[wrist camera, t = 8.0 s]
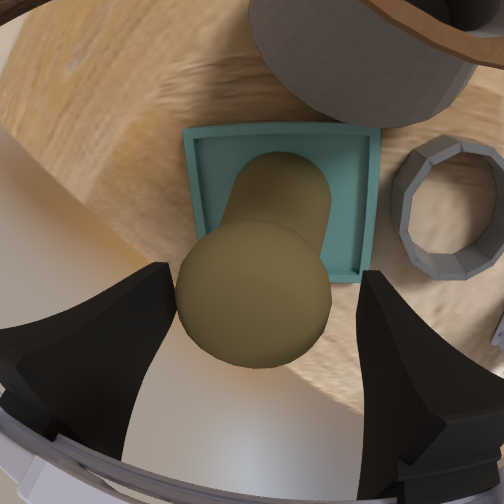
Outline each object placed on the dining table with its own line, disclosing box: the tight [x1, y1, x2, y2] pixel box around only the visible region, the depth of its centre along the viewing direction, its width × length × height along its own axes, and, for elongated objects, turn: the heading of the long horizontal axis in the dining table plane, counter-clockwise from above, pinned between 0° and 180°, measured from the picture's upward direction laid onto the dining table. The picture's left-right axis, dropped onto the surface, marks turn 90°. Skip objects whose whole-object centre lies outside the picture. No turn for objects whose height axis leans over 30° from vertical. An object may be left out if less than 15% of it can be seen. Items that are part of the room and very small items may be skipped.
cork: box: [175, 151, 332, 369], centre depth 13 cm, size 6×6×11 cm
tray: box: [182, 121, 381, 283], centre depth 18 cm, size 10×11×1 cm
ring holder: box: [390, 134, 504, 280], centre depth 15 cm, size 9×9×2 cm
